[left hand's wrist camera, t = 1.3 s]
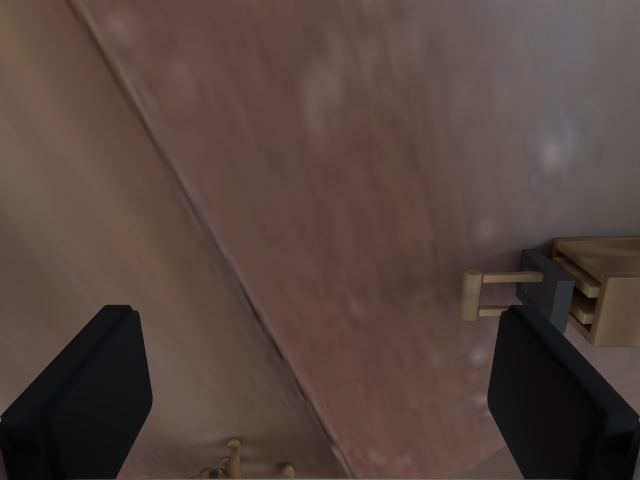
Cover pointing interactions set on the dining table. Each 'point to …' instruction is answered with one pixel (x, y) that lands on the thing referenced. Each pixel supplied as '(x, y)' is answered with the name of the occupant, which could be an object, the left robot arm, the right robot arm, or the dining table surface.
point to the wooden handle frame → (537, 289)
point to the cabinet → (608, 287)
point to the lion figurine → (234, 466)
